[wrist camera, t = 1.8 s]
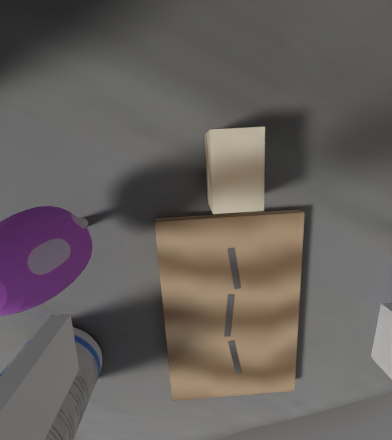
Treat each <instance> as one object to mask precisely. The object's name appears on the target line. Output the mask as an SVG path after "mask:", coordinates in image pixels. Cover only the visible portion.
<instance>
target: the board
mask: <svg viewBox="0 0 392 440" xmlns="http://www.w3.org/2000/svg"><path fill="white" fill-rule="evenodd" d="M304 215H305V212H303V211H301V210H299V209H298V210H282V211H266V212H250V213H234V214H218V215H202V216H187V217H171V218H156V220H155V230H156V240H157V250H158V261H159V271H160V281H161V291H162V301H163V311H164V321H165V331H166V341H167V351H168V361H169V371H170V381H171V391H172V401H176V400H188V399H200V398H212V397H224V396H236V395H248V394H260V393H272V392H284V391H295V373H296V356H297V338H298V320H299V303H300V285H301V267H302V250H303V232H304Z"/></svg>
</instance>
